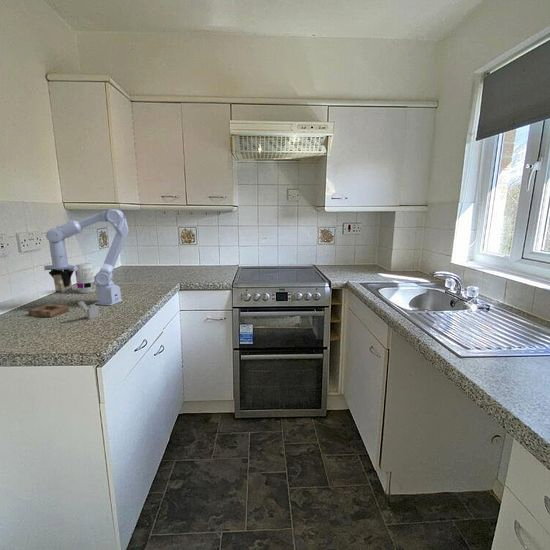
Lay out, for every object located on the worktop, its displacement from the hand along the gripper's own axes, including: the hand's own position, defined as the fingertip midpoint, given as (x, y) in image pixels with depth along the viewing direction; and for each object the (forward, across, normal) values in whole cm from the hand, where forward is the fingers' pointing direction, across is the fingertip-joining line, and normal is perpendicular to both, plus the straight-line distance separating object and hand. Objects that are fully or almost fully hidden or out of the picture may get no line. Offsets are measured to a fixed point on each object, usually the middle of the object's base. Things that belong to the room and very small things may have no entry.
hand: (63, 286), depth 139 cm
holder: (+9, 0, +10) cm, 14 cm away
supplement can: (+10, +9, -25) cm, 28 cm away
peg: (+2, 0, 0) cm, 2 cm away
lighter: (+10, -22, +14) cm, 28 cm away
